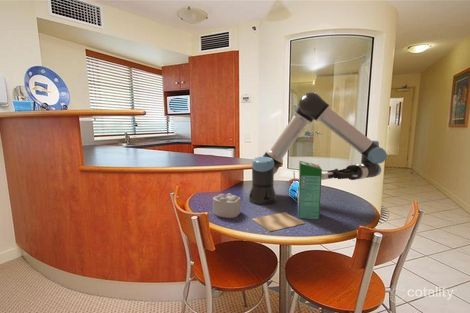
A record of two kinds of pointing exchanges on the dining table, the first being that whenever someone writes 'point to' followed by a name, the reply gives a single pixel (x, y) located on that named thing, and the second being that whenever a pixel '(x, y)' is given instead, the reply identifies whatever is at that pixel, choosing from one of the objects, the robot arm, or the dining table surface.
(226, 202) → the lumpy-topped squat cylinder
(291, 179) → the cupcake
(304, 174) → the milk carton
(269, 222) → the wooden mat
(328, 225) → the dining table surface
